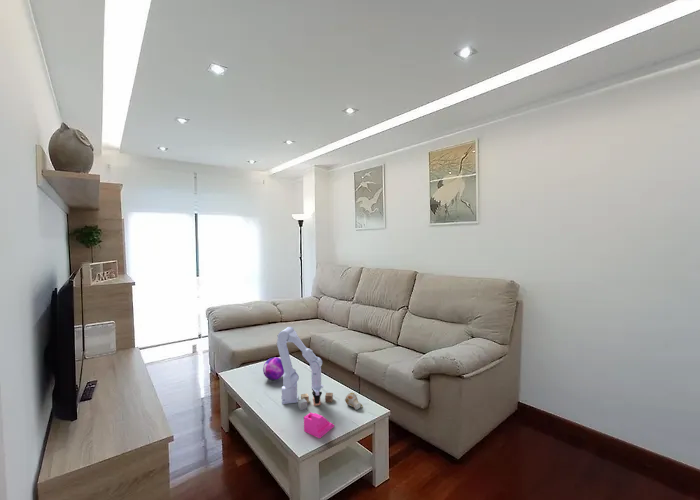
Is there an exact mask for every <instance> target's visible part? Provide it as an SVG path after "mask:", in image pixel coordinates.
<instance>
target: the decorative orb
mask: <svg viewBox="0 0 700 500" xmlns="http://www.w3.org/2000/svg"><path fill="white" fill-rule="evenodd" d="M262 371H263V375H264V376H265V378H266V379H267V380H270V381H276V380H279V379H281V378H283V375H284V369H283V365H282V362H281V358H280V357H278V356H277V357H275V356H273V357H270V358H268V359H267V360H266V361H265V362H264V365H263V368H262Z"/></svg>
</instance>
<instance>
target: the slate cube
mask: <svg viewBox="0 0 700 500" xmlns="http://www.w3.org/2000/svg"><path fill="white" fill-rule="evenodd" d="M297 407H298V409H299V411H302V410H305V409H307V408H308V403H307V401H306V400H305V398H304V399H301V398H300V399H298V402H297Z"/></svg>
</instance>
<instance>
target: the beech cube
mask: <svg viewBox="0 0 700 500" xmlns="http://www.w3.org/2000/svg"><path fill="white" fill-rule="evenodd" d="M304 398H305V400H306V401H307V404H309V402H310V396H309V394H308V393H307V392H306V393H302V394H300V400H301V399H304Z"/></svg>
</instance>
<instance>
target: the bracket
mask: <svg viewBox="0 0 700 500" xmlns="http://www.w3.org/2000/svg"><path fill="white" fill-rule="evenodd" d="M334 427H335V423H332V422H330V421H328V419H327V418H326V417H324V416H323V415H321V414H318V413H316V412H314V413H313V412H309V413H307V414H306V415H305V416H303V431H304V432H305V433H307V434H308V435H311V436H312V437H315V438H318V439H320V438H322V437H324V436H325V435H326V434H327V433H329V432H330V431H331V430H332V429H333V428H334Z"/></svg>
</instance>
